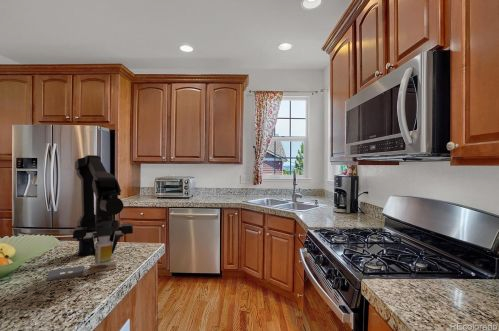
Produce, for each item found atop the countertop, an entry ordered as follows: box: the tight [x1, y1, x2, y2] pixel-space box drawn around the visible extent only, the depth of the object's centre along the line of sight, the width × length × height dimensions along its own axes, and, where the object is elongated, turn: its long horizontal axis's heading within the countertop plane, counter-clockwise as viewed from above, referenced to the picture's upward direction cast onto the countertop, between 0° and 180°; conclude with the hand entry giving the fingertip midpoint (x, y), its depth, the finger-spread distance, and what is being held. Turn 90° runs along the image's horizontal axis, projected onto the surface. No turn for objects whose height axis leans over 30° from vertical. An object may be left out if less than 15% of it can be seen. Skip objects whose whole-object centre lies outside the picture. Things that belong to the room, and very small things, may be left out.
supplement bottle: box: [94, 235, 113, 265], centre depth 98 cm, size 5×5×10 cm
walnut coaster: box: [89, 260, 117, 273], centre depth 98 cm, size 8×8×1 cm
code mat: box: [45, 265, 85, 282], centre depth 91 cm, size 10×10×1 cm
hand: (103, 254), depth 98 cm, fingers closed on supplement bottle, 5 cm apart
